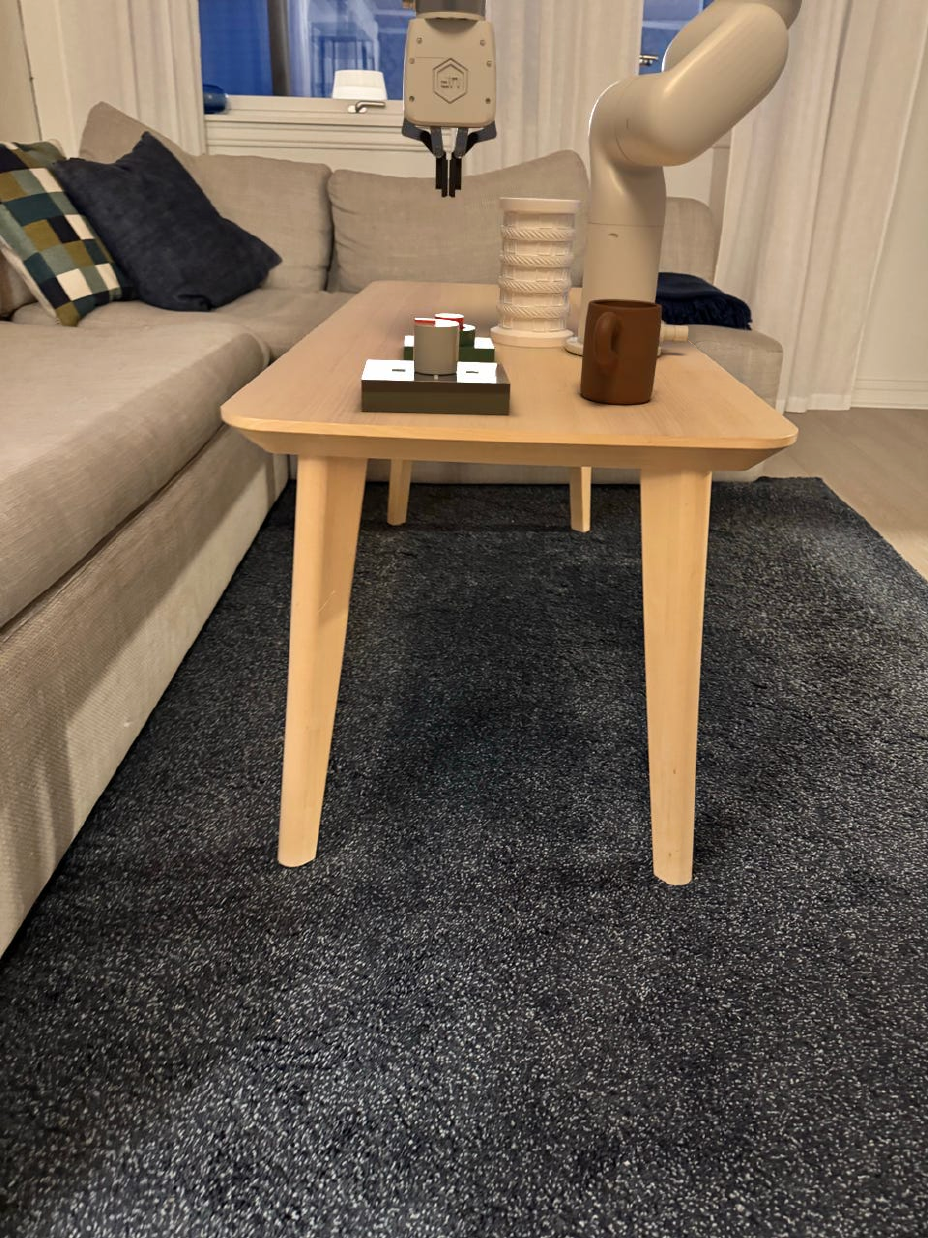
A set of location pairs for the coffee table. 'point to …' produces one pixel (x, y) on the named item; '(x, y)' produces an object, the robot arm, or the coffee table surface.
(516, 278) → the decorative container
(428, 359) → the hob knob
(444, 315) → the power button
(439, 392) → the hob
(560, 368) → the coffee table surface
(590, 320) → the mug
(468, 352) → the power box
